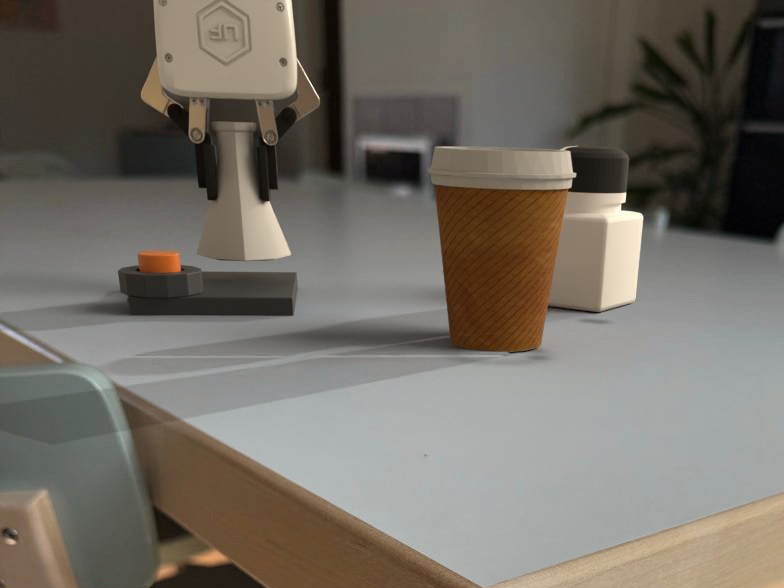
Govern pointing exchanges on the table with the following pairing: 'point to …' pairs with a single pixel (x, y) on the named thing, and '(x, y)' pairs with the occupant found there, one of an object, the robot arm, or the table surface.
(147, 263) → the button
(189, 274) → the scale
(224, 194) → the flask
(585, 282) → the medicine bottle
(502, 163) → the disposable coffee cup
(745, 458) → the table surface
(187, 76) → the robot arm
